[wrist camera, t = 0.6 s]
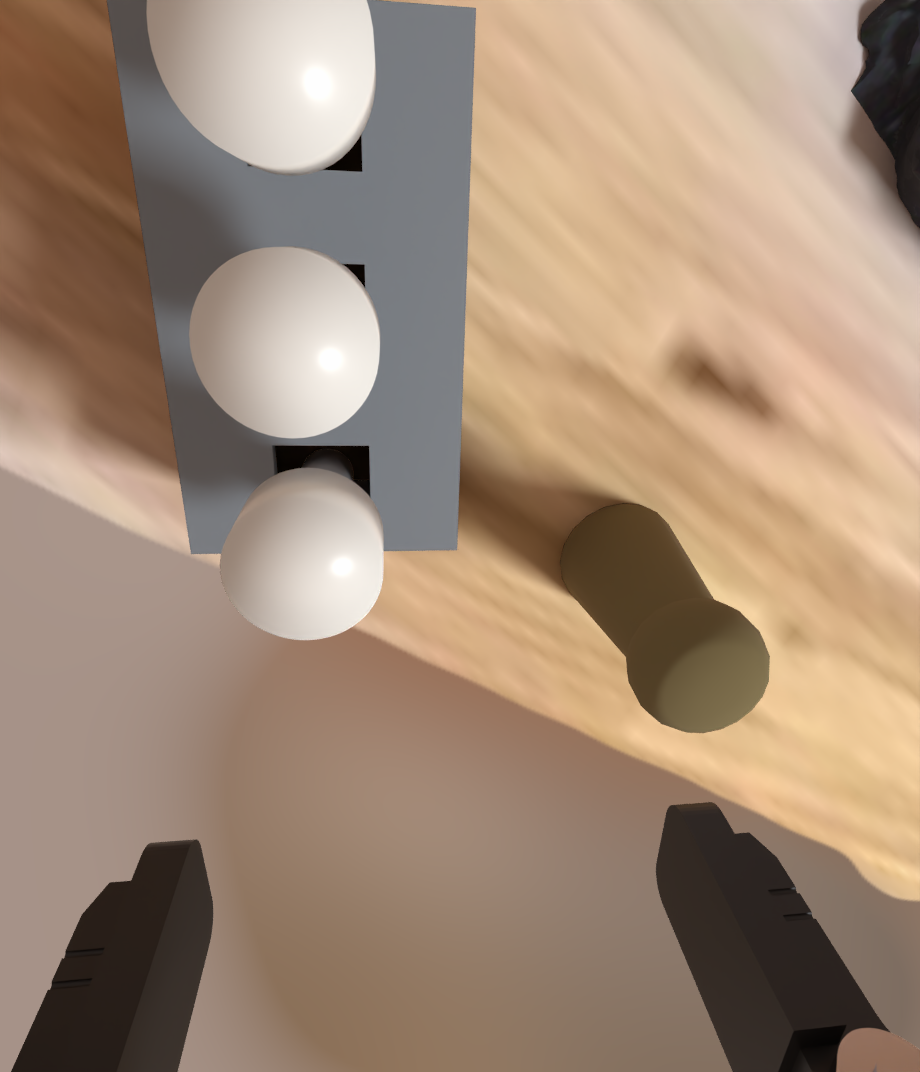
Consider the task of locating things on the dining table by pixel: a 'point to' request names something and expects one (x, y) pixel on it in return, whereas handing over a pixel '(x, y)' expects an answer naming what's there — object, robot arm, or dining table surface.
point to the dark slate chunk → (895, 90)
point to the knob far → (306, 551)
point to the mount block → (340, 232)
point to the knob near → (269, 75)
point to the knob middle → (285, 341)
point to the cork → (664, 620)
